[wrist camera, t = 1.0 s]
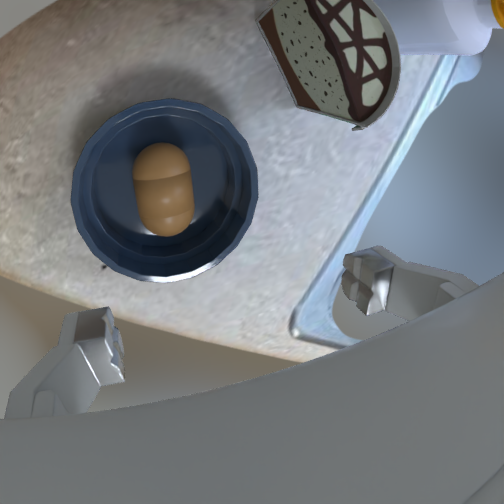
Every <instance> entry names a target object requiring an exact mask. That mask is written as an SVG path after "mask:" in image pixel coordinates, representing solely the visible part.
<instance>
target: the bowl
mask: <svg viewBox="0 0 504 504" xmlns="http://www.w3.org/2000/svg"><path fill="white" fill-rule="evenodd" d="M162 142H163V143H170V144H173V145H175V146H177V147H178V148H180V149H181V150H182V151H183V152H184V153H185V155H186V156H187V158H188V160H189V164H190V168H191V177H192V186H193V195H194V204H195V211H194V216H193V218H192V221H191V222H190V224H189V225H188V227H187V228H186V229H185V230H183V231H182V232H180V233H179V234H176V235H174V236H168V237H165V236H158V235H156V234H153V233H151V232H150V231H149V230H148V229H146V227H145V226H144V225H143V223H142V222H141V220H140V216H139V213H138V207H137V202H136V196H135V190H134V184H133V178H132V169H133V164H134V161H135V159H136V158H137V156H138V154H139V153H140V152H141V151H142V150H143V149H145V148H146V147H147V146H150V145H152V144H155V143H162ZM257 200H258V175H257V167H256V164H255V161H254V159H253V156H252V154H251V151H250V148H249V146H248V143H247V141H246V140H245V139H244V138H243V136H242V135H241V134H240V133H239V132H238V131H237V129H236V128H235V127H234V126H233V125H232V123H231V122H230V121H229V120H228V119H226V118H225V117H223V116H221V115H220V114H218V113H216V112H215V111H213V110H211V109H209V108H208V107H206V106H204V105H201V104H199V103H194V102H189V101H183V100H178V99H172V98H171V99H170V98H168V99H161V100H154V101H148V102H142V103H139V104H136V105H134V106H132V107H130V108H128V109H126V110H124V111H122V112H120V113H118V114H116V115H114V116H113V117H111V118H109V119H108V120H107V121H106V122H105V123H104V124H103V125H102V126H101V127H100V128H99V129H98V130H97V131H96V133H95V134H94V135H93V136H92V137H91V138H90V139H89V140H88V141H87V143H86V144H85V147H84V149H83V151H82V153H81V155H80V157H79V160H78V162H77V164H76V166H75V169H74V172H73V180H72V191H71V206H72V210H73V214H74V218H75V222H76V226H77V230H78V232H79V233H80V235H81V236H82V238H83V239H84V241H85V243H86V244H87V246H88V247H89V249H90V250H91V252H92V253H93V254H94V255H95V256H96V257H97V258H99V259H100V260H101V261H102V262H104V263H105V264H106V265H107V266H109V267H110V268H111V269H112V270H114V271H115V272H118V273H121V274H123V275H126V276H128V277H131V278H134V279H136V280H140V281H148V282H162V283H169V282H173V281H178V280H183V279H188V278H193V277H195V276H196V275H198V274H200V273H202V272H204V271H206V270H208V269H210V268H212V267H214V266H216V265H218V264H219V263H220V262H221V261H222V260H223V259H224V258H225V257H226V256H227V255H228V254H229V253H231V252H232V251H233V250H234V249H235V248H236V247H237V246H238V244H239V242H240V241H241V239H242V238H243V236H244V234H245V233H246V231H247V229H248V228H249V226H250V224H251V223H252V219H253V215H254V211H255V208H256V204H257Z"/></svg>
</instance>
